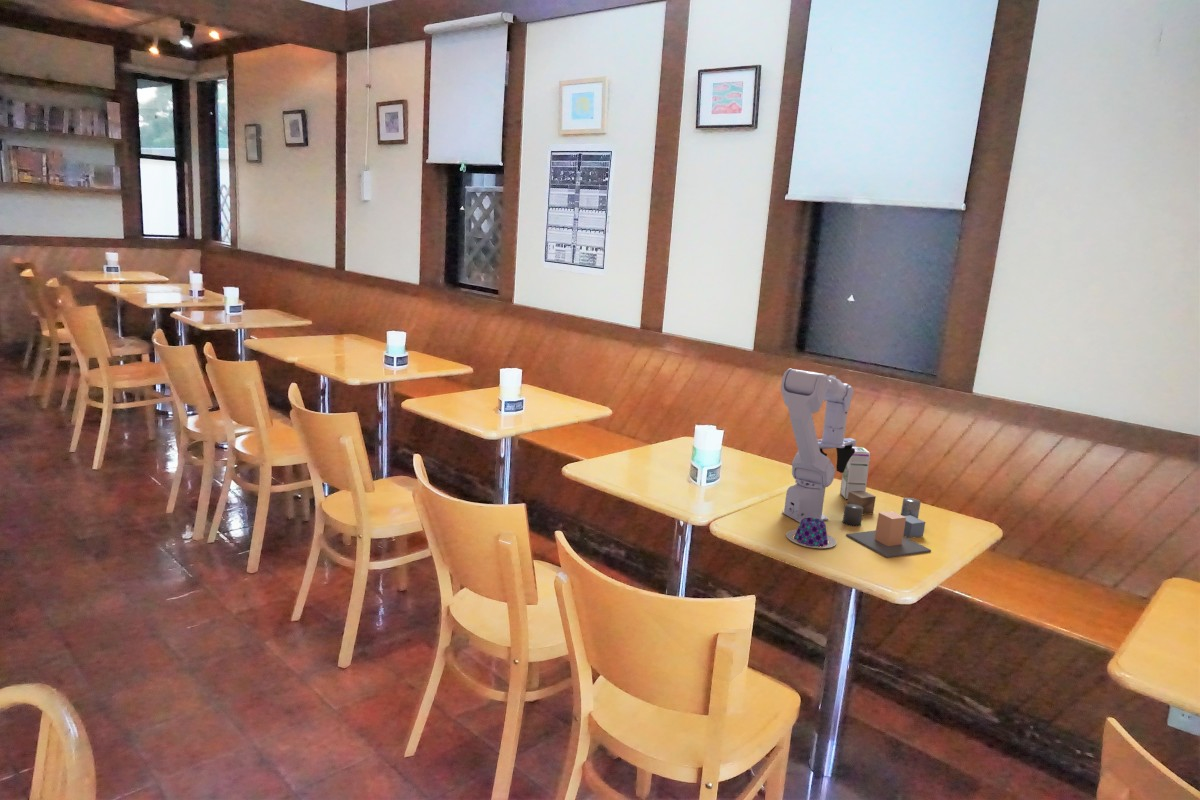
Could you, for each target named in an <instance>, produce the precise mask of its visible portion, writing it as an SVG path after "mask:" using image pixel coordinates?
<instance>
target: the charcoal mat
mask: <svg viewBox="0 0 1200 800" xmlns="http://www.w3.org/2000/svg"><path fill="white" fill-rule="evenodd" d="M875 534H876V529H875V530H869V531H868V530H867V531H859V532H852V533H851V532H850V533H846V534H845V537H848V538H849V539H851V540H853V541H855V542H857V543H858V544H861V545H862V546H864V547H866V548H867V549H869V548H870V550H871V551H874V552H876V553H877V554H879V555H880V556H882V555H883V557H884V558H886V559H890V558H897V557H903V556H904V555H905V556H911V554H912V555H918V553H919V554H924V553H925V552H926V553H931V552H932V549H930V548H928V547H926V546H924V545H922V544H921V543H918V542H916V541H914V540H912V539H911V538H908V537H906V536H904V535H903V540H902V544H901V545H893V546H886V545H885V544H883V543H881V542H879V541H877V540H875Z"/></svg>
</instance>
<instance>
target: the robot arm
mask: <svg viewBox="0 0 1200 800" xmlns="http://www.w3.org/2000/svg"><path fill="white" fill-rule="evenodd" d="M780 391H781V394H782V399H783V403H784V406H786V407H787V408H788V413H789V419H790V424H791V427H792V432H793V434H794V435H793V436H794V440H795V444H796V447H797V452H796V454H794V458H793V459H792V461H791V474H792V477H793V479H794V480H795V481H794V482H795V484H794V485H791V486H788V487H787V490H786V495H785V502H784V508H783V509H784V510H782V511H781V513H782V514H784V515H786V516H787V517H789V518H791V519H792V520H794V521H797V522H798V523H800V522H801V520H802V519H803V518H817V519H820V520H822V521H828V520H829V517H827V516H825V515H824V514H823V508H824V502H825V494H826V488H828V487H829V486H831V485H832V483H833V482H834V479H835V474H836V471H837V472H838V473H840V474H843V472H844V470H845V467H846V465H847V463H848V461H849V459H850V458H851V456H852V455H853V454H854V453H855V449H854V448H852V447H856V444H857V440H856V439H854V438H851V437H849V438H847V437H846V438H845V433H846V427H847V425H846V424H847V421H848V419H847V418H848V412H849V411H850V409H851V403H852V401H853V396H854V388H853V386H851V385H850V384H848V383H844V382H842V380H841V379H839V378H837V376H836V375H835V374H829V375H827V374H826V373H820V372H816V371H810V370H808V371H807V370H803V369H797V368H796V369H794V368H791V367H790V368H789V367H788V369H786V370H785V371H784V373H783V376H782V377H781V383H780ZM823 402H825V403H826V404H825V412H824V420H823V429H822V436H821V437H822V438H820V439H818V436H817V432H816V427H815V423H814V419H813V414H815V413H817V412H820V409H821V407H822V405H823ZM828 449H836V466H834V464H833V463H832V461H831V458H830V457H828V454H827V453H826V452H824V450H828ZM835 467H836V468H835Z"/></svg>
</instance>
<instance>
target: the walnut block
mask: <svg viewBox="0 0 1200 800" xmlns="http://www.w3.org/2000/svg"><path fill="white" fill-rule="evenodd" d="M876 497H877V496H876V495H874V494H872V493H870V492H867V491H863V490H862V491H852V492H849V494H848V500H847V502H846V504H855V505H859V506H861V507H863V514H864V515H870V513H872V514H874V510H875V505H876Z"/></svg>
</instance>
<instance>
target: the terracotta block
mask: <svg viewBox="0 0 1200 800" xmlns="http://www.w3.org/2000/svg"><path fill="white" fill-rule="evenodd" d="M905 522H906V517H904V516H902V515H901V513H898V512H896V511H893V510H890V511H880V512H878V515H877V521H876V528H875V530H876V534H875V540H877V541H879V542H881V543H883V544H885V545H886V546H893V545H901V544H902V540H903V536H904V535H903V534H904V528H905Z"/></svg>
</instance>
